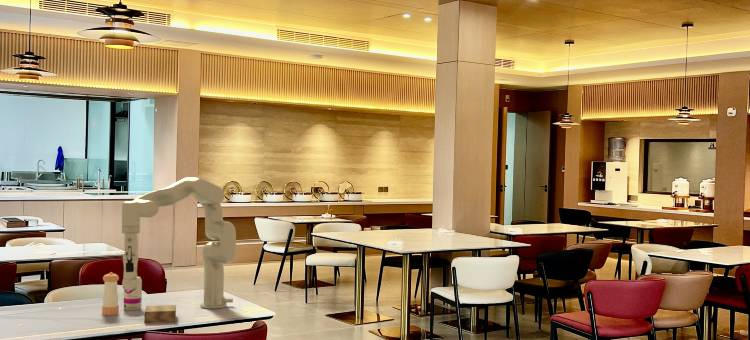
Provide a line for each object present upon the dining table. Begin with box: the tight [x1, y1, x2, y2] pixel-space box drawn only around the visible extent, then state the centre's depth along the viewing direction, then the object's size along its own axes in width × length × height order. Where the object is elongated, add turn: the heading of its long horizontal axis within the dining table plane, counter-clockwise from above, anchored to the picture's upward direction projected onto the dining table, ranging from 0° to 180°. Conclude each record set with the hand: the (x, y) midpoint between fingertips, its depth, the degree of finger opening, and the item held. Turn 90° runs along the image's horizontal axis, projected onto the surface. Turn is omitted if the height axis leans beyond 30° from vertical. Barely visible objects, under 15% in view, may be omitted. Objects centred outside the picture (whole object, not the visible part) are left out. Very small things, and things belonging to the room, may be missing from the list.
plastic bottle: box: [121, 252, 140, 290], centre depth 328 cm, size 6×7×20 cm
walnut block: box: [144, 304, 177, 324], centre depth 337 cm, size 13×13×5 cm
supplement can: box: [123, 275, 143, 311], centre depth 359 cm, size 8×8×15 cm
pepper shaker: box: [101, 271, 120, 316], centre depth 347 cm, size 7×7×19 cm
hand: (130, 270), depth 328 cm, fingers closed on plastic bottle, 5 cm apart
